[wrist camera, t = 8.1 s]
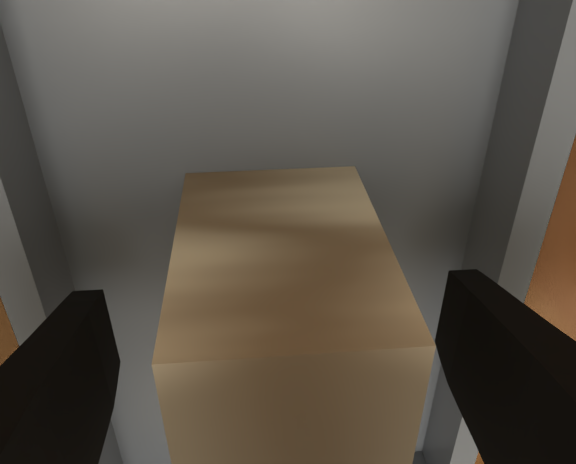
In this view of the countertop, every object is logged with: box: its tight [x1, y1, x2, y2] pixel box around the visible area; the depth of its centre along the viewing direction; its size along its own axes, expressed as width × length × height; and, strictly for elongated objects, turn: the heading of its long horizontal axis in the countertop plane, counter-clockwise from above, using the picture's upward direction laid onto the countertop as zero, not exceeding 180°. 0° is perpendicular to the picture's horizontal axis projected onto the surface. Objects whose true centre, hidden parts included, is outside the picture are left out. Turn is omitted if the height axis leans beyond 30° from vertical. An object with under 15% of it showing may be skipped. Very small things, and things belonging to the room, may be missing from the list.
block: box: [152, 166, 436, 464], centre depth 11 cm, size 4×4×6 cm
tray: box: [0, 0, 576, 464], centre depth 13 cm, size 12×20×2 cm, turn 0°
